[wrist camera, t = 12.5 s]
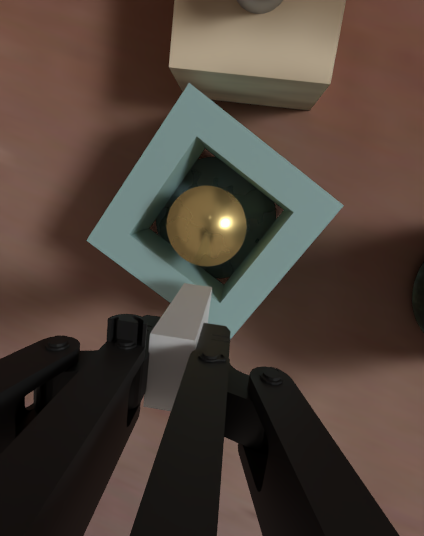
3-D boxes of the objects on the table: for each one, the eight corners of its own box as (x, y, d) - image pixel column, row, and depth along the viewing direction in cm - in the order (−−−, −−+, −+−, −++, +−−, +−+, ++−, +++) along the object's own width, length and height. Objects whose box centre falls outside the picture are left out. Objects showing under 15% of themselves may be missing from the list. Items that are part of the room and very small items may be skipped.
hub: (168, 153, 23) (133, 132, 15) (281, 167, 22) (301, 152, 15) (158, 264, 24) (122, 291, 17) (263, 279, 24) (273, 314, 17)
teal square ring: (199, 105, 20) (188, 82, 16) (324, 204, 20) (343, 205, 17) (113, 233, 22) (86, 240, 18) (228, 319, 23) (225, 344, 19)
